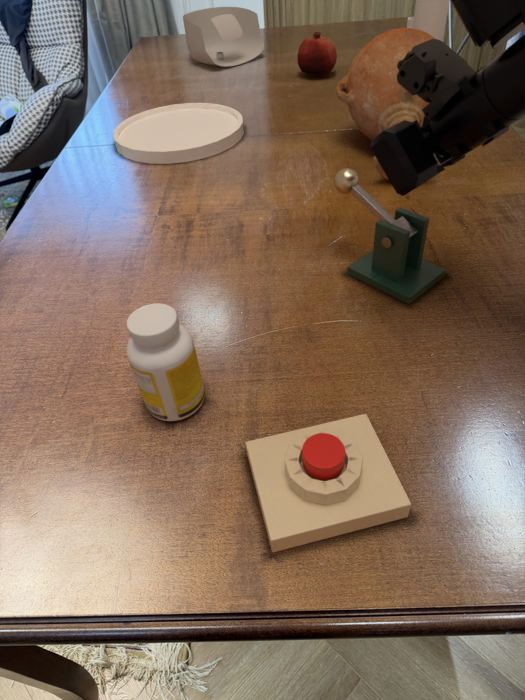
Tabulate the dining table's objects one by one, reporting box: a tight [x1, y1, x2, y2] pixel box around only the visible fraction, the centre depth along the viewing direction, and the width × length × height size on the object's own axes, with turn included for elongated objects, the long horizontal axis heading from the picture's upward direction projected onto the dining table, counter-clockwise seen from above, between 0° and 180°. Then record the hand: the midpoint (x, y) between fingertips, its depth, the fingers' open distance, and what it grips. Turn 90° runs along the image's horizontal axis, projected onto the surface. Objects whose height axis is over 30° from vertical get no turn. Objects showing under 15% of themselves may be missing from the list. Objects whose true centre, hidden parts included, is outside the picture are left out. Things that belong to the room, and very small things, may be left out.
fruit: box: [296, 31, 338, 77], centre depth 131 cm, size 11×10×10 cm
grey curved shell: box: [182, 6, 265, 67], centre depth 149 cm, size 20×19×12 cm
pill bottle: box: [126, 302, 206, 422], centre depth 50 cm, size 6×6×12 cm
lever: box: [333, 167, 418, 244], centre depth 65 cm, size 13×3×3 cm, turn 43°
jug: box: [335, 27, 435, 181], centre depth 90 cm, size 20×19×30 cm
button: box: [302, 433, 345, 480], centre depth 43 cm, size 4×4×2 cm
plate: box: [112, 102, 245, 165], centre depth 109 cm, size 28×28×2 cm
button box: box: [245, 413, 412, 553], centre depth 44 cm, size 10×12×4 cm
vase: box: [406, 0, 451, 42], centre depth 111 cm, size 11×7×20 cm, turn 0°
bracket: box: [347, 207, 447, 305], centre depth 65 cm, size 10×8×8 cm
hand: (392, 174), depth 60 cm, fingers closed
